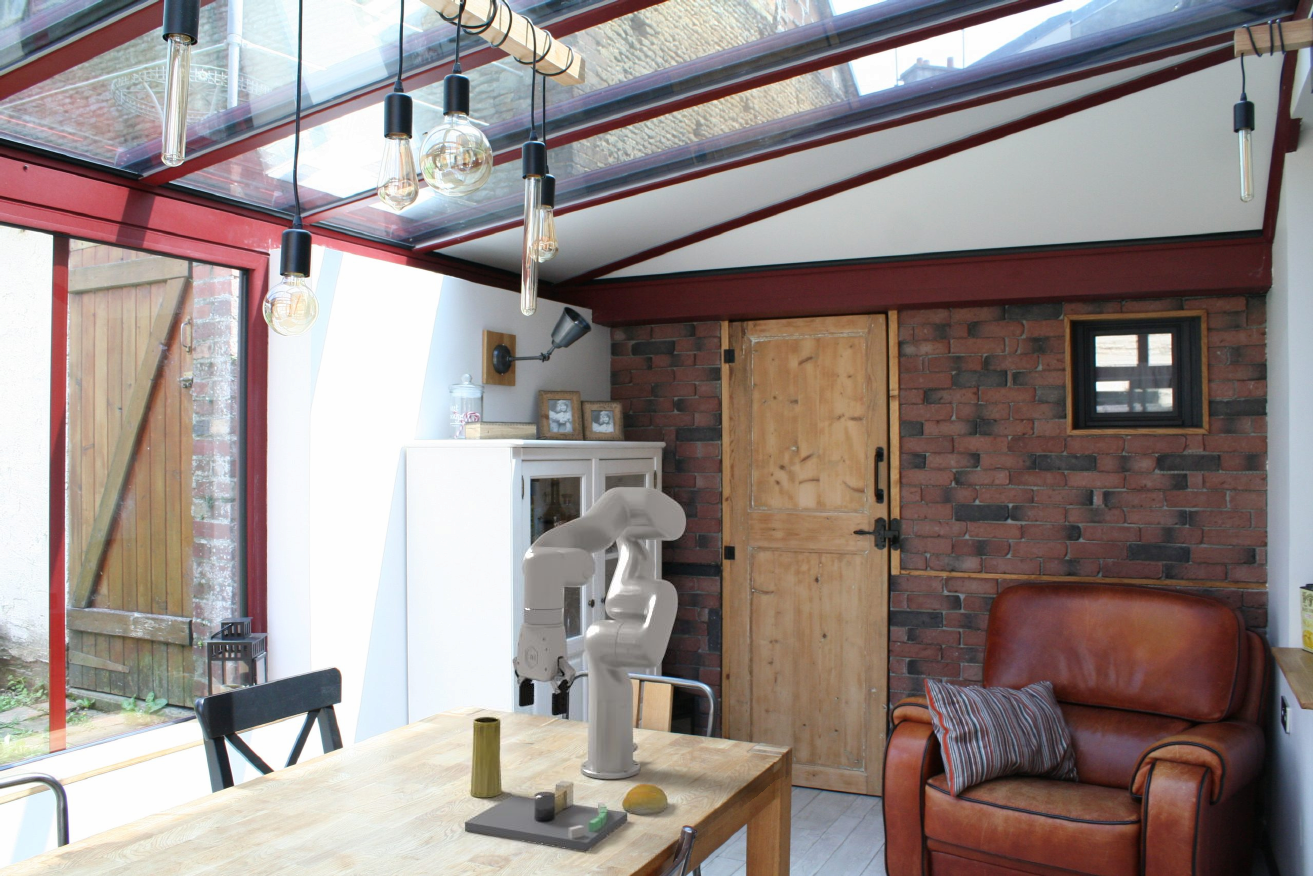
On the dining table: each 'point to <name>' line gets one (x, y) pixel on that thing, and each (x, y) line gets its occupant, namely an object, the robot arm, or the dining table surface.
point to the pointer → (553, 801)
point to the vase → (486, 758)
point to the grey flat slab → (548, 823)
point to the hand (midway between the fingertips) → (542, 709)
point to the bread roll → (645, 800)
